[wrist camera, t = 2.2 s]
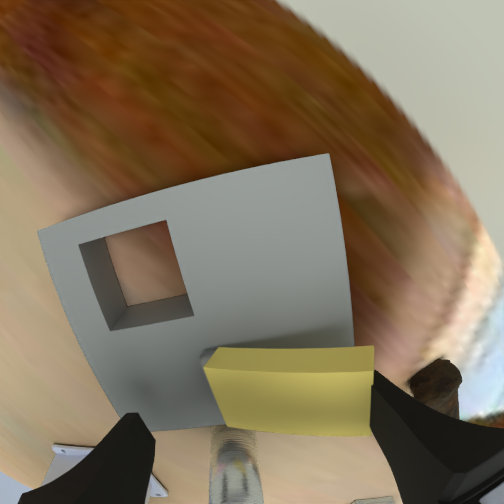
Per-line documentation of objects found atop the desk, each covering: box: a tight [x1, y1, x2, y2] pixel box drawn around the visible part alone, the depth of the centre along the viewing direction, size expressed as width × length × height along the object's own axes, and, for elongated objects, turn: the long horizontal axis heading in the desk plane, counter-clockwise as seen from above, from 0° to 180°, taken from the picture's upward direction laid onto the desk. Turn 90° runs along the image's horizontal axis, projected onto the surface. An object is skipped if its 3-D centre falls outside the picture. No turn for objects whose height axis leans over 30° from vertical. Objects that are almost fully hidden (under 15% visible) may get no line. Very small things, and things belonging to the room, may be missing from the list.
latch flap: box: [199, 346, 374, 436], centre depth 12 cm, size 8×4×2 cm, turn 102°
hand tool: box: [410, 359, 462, 419], centre depth 20 cm, size 19×4×5 cm, turn 27°
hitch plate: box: [37, 153, 354, 432], centre depth 15 cm, size 14×13×3 cm
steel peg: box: [209, 424, 264, 504], centre depth 15 cm, size 3×3×8 cm
